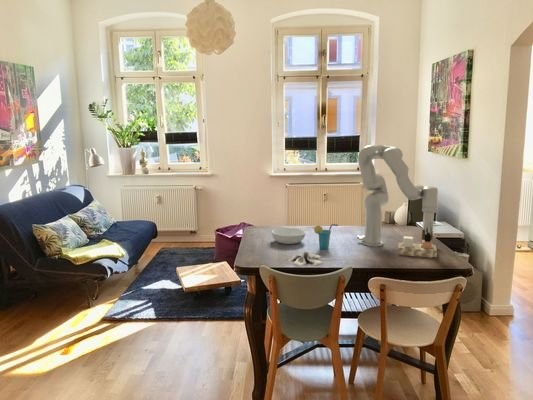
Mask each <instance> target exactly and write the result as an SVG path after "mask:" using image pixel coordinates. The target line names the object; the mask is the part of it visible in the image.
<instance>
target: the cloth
mask: <svg viewBox="0 0 533 400" xmlns="http://www.w3.org/2000/svg"><path fill="white" fill-rule="evenodd" d="M320 257H321V256H320V255H318V254H311V253H310V252H309V251H308V250H305V251H304V252H303V253H302V254H295V255H294V256H292V257H291V258H290V259H288V260H287V261H288V262H293V261H294V262H293V265H295V266H298V267H303V266H305V265H307V264H308V263H310V264H311V265H312V266H313V265H315V266H318V265H321V263H322V261H321V260H318V259H320ZM322 264H323V263H322Z"/></svg>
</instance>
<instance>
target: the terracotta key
mask: <svg viewBox="0 0 533 400" xmlns="http://www.w3.org/2000/svg"><path fill="white" fill-rule="evenodd" d="M421 242H422V247H421V248H426V249H432V244H433V240H432V241H431V242H426V241H425V240H422V239H421Z"/></svg>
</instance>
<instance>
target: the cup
mask: <svg viewBox="0 0 533 400" xmlns="http://www.w3.org/2000/svg"><path fill="white" fill-rule="evenodd" d="M332 226H335V227H338V226H339V225H338V224H336V223H331V224H330V227H329V229H323V227H322V226H321V225H316V226H315V227H314V229H313V231H314V233H315V234H317V235H318V243H319V244H318V245H319V247H318V248H319V250H321V251H328V250H329V249H330V248H329V247H330V240H331V239H330V238H331V232H332V231H331V230H332Z"/></svg>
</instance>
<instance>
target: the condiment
mask: <svg viewBox="0 0 533 400" xmlns="http://www.w3.org/2000/svg"><path fill="white" fill-rule="evenodd" d="M433 233H434V229H433V230H431V241H432V242H433V237H434V236H433V235H434V234H433ZM424 239H425V230H424V229H423V228H422V230H421V242H420V243H418V244H422V240H424ZM432 245H434V244H433V243H432Z"/></svg>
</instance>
